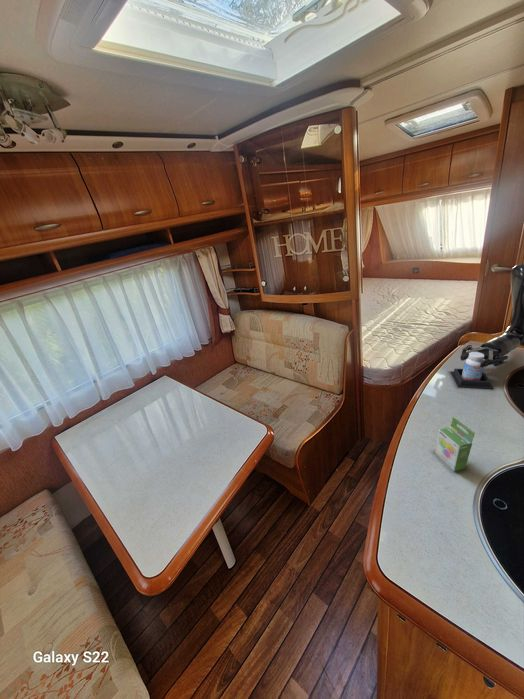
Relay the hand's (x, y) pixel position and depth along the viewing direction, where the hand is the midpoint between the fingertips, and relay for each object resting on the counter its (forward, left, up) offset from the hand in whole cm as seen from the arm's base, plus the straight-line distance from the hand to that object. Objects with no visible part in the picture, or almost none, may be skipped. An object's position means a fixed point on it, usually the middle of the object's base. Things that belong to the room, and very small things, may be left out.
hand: (471, 361), depth 103 cm
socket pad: (-2, -2, -10) cm, 10 cm away
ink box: (+15, +41, -10) cm, 45 cm away
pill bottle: (-2, -2, -9) cm, 10 cm away
